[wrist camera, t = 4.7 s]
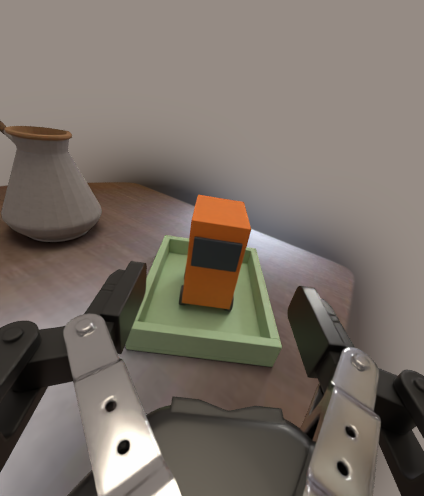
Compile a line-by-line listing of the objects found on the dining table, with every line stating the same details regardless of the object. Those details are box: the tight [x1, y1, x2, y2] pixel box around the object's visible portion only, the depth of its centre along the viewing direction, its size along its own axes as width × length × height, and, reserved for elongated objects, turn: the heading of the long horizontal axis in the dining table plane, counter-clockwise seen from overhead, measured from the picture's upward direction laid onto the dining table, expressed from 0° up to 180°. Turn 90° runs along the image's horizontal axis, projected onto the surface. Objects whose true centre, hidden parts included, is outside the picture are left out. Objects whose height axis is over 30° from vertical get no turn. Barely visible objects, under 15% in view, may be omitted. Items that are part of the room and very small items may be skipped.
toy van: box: [179, 195, 251, 311], centre depth 24 cm, size 7×5×10 cm
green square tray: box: [126, 235, 282, 367], centre depth 26 cm, size 16×13×3 cm
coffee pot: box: [0, 121, 102, 242], centre depth 31 cm, size 21×12×15 cm, turn 63°
